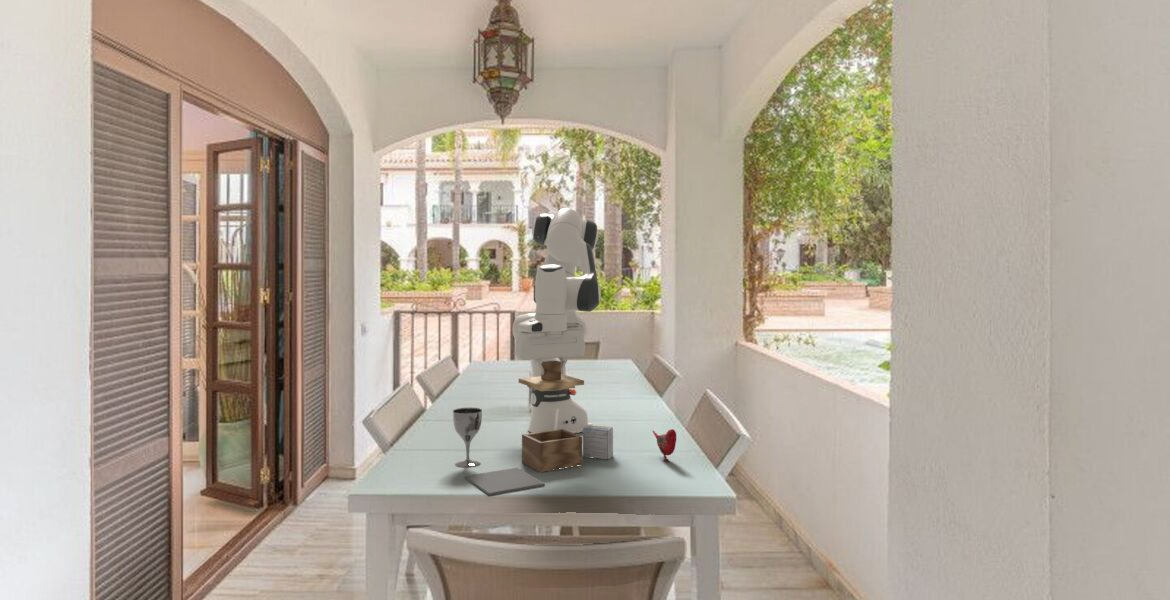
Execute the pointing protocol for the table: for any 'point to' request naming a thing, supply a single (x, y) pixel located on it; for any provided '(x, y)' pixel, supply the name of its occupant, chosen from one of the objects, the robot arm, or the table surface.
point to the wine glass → (467, 430)
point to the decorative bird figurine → (666, 442)
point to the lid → (551, 378)
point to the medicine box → (598, 442)
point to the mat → (503, 481)
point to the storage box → (551, 450)
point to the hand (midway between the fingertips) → (550, 374)
